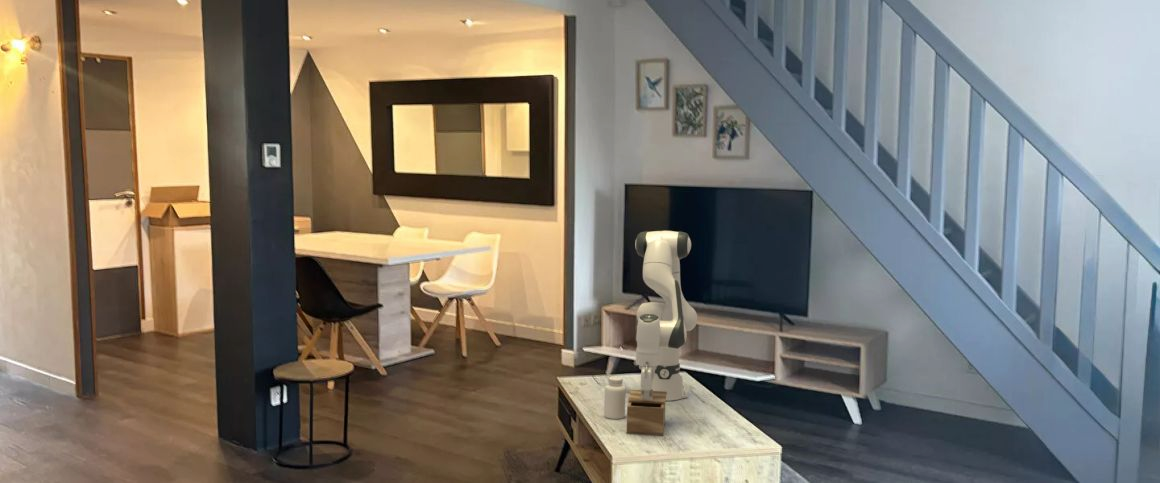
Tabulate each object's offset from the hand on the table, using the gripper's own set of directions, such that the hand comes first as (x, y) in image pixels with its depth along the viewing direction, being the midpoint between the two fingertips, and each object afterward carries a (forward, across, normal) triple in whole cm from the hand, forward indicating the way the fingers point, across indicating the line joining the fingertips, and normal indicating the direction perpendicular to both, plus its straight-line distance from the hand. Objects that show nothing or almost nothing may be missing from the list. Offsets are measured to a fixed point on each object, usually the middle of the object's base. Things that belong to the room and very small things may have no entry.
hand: (647, 396), depth 334 cm
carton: (+12, -1, 0) cm, 12 cm away
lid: (+2, +5, 0) cm, 5 cm away
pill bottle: (+12, +12, +13) cm, 22 cm away
